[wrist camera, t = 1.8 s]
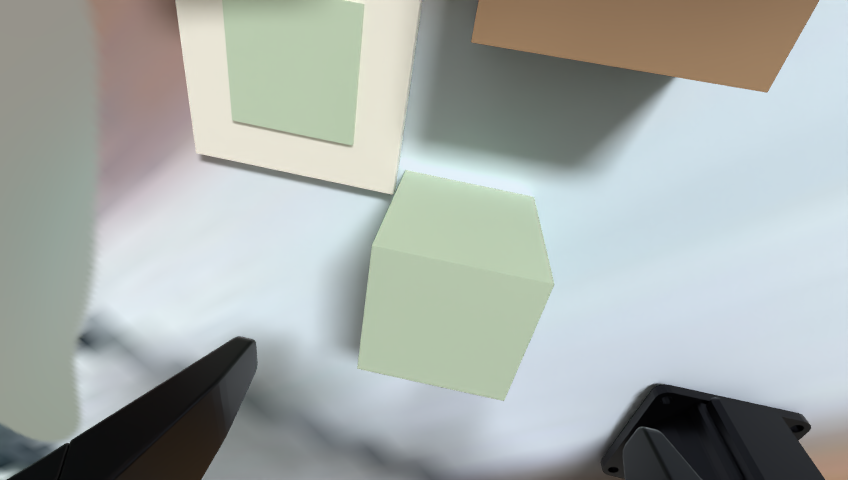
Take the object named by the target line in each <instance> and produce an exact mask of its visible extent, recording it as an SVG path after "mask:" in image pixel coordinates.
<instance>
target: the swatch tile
mask: <svg viewBox="0 0 848 480" xmlns="http://www.w3.org/2000/svg"><path fill="white" fill-rule="evenodd" d="M175 1H176V9H177V16H178V23H179V31H180V38H181V45H182V53H183V60H184V67H185V75H186V82H187V89H188V97H189V104H190V111H191V119H192V126H193V133H194V141H195V148H196V153H198V154H203V155H208V156H213V157H217V158H222V159H227V160H231V161H236V162H241V163H246V164H250V165H255V166H260V167H265V168H269V169H274V170H279V171H283V172H288V173H293V174H298V175H302V176H307V177H312V178H317V179H321V180H326V181H331V182H335V183H340V184H345V185H350V186H354V187H359V188H364V189H369V190H373V191H378V192H383V193H387V194H392V195H393V193H394V191H395V189H396V182H397V175H398V168H399V162H400V155H401V148H402V141H403V134H404V127H405V120H406V113H407V106H408V99H409V92H410V85H411V78H412V71H413V64H414V57H415V50H416V44H417V37H418V30H419V23H420V16H421V9H422V2H423V0H175Z"/></svg>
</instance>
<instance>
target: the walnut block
mask: <svg viewBox="0 0 848 480" xmlns="http://www.w3.org/2000/svg"><path fill="white" fill-rule="evenodd" d="M818 2H819V0H479V1H478V6H477V12H476V17H475V23H474V29H473V34H472V40H471V42H472V43H478V44H483V45H489V46H495V47H501V48H507V49H513V50H519V51H525V52H531V53H537V54H543V55H548V56H554V57H560V58H566V59H572V60H578V61H584V62H590V63H596V64H602V65H608V66H614V67H619V68H625V69H631V70H637V71H643V72H649V73H655V74H661V75H667V76H673V77H679V78H684V79H690V80H696V81H702V82H708V83H714V84H720V85H726V86H732V87H738V88H744V89H750V90H755V91H761V92H768V90H769V89H770V87H771V85H772V83H773V81H774V80H775V78H776V76H777V74H778V73H779V71H780V69H781V67H782V65H783V64H784V62H785V60H786V58H787V57H788V55H789V53H790V51H791V50H792V48H793V46H794V44H795V42H796V41H797V39H798V37H799V35H800V34H801V32H802V30H803V28H804V27H805V25H806V23H807V21H808V19H809V18H810V16H811V14H812V12H813V11H814V9H815V7H816V5H817V4H818Z"/></svg>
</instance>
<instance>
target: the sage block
mask: <svg viewBox="0 0 848 480" xmlns="http://www.w3.org/2000/svg"><path fill="white" fill-rule="evenodd" d="M553 286H554V281H553V277H552V272H551V268H550V264H549V259H548V255H547V251H546V247H545V242H544V238H543V234H542V230H541V225H540V221H539V217H538V212H537V208H536V204H535V200H534V197H531V196H527V195H522V194H517V193H512V192H508V191H503V190H498V189H493V188H488V187H484V186H479V185H474V184H469V183H465V182H460V181H455V180H450V179H446V178H441V177H436V176H431V175H427V174H422V173H417V172H412V171H408V170H406V171H405V173H404V175H403V177H402V180H401V182H400V184H399V186H398V188H397V191H396V193H395V195H394V197H393V200H392V202H391V204H390V206H389V209H388V211H387V213H386V215H385V217H384V220H383V222H382V224H381V226H380V229H379V231H378V233H377V235H376V237H375V240H374V242H373V244H372V249H371V258H370V266H369V274H368V283H367V291H366V299H365V308H364V316H363V325H362V333H361V341H360V350H359V358H358V366H357V369H361V370H366V371H370V372H375V373H379V374H384V375H388V376H393V377H397V378H402V379H407V380H411V381H416V382H420V383H425V384H429V385H434V386H438V387H443V388H447V389H452V390H456V391H461V392H465V393H470V394H474V395H479V396H484V397H488V398H493V399H497V400H502V401H504V400H505V397H506V395H507V393H508V390H509V388H510V386H511V384H512V381H513V379H514V377H515V374H516V372H517V370H518V367H519V365H520V363H521V360H522V358H523V356H524V353H525V351H526V349H527V347H528V344H529V342H530V340H531V337H532V335H533V333H534V330H535V328H536V326H537V323H538V321H539V319H540V316H541V314H542V312H543V310H544V307H545V305H546V303H547V300H548V298H549V296H550V293H551V291H552V289H553Z"/></svg>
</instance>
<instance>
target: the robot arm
mask: <svg viewBox="0 0 848 480" xmlns="http://www.w3.org/2000/svg"><path fill="white" fill-rule="evenodd" d="M256 369H257V349H256V342H255V340H253V339H250V338H246V337H241V336H238V337H235V338H233V339H232V340H230V341H228V342H227V343H225V344H224V345H222V346H220V347H219V348H217V349H216V350H214V351H212V352H211V353H209V354H208V355H206V356H205V357H203V358H201V359H200V360H198V361H197V362H195V363H193V364H192V365H190V366H189V367H187V368H185V369H184V370H182V371H181V372H179V373H177V374H176V375H174V376H173V377H171V378H169V379H168V380H166V381H165V382H163V383H161V384H160V385H158V386H157V387H155V388H154V389H152V390H150V391H149V392H147V393H146V394H144V395H142V396H141V397H139V398H138V399H136V400H134V401H133V402H131V403H130V404H128V405H126V406H125V407H123V408H122V409H120V410H118V411H117V412H115V413H114V414H112V415H111V416H109V417H107V418H106V419H104V420H103V421H101V422H99V423H98V424H96V425H95V426H93V427H91V428H90V429H88V430H87V431H85V432H83V433H82V434H80V435H79V436H77V437H75V438H74V439H72V440H71V442H70V444H69V443H66V444H64V445H62V446H61V447H59V448H58V449H56V450H54V451H53V452H51V453H50V454H48V455H47V456H45V457H43V458H42V459H40V460H38V461H37V462H35V463H33V464H32V465H30V466H28V467H27V468H25V469H23V470H22V471H20V472H18V473H17V474H15V475H14V476H12V477H10V478H9V479H7V480H201V479H202V477H203V476H204V474H205V472H206V470H207V469H208V467H209V465H210V464H211V462H212V460H213V458H214V457H215V455H216V453H217V452H218V450H219V448H220V446H221V445H222V443H223V441H224V439H225V437H226V436H227V434H228V432H229V429H230V427H231V425H232V423H233V421H234V419H235V416H236V414H237V412H238V410H239V408H240V405H241V403H242V401H243V399H244V397H245V394H246V392H247V390H248V388H249V386H250V383H251V381H252V379H253V377H254V375H255V372H256ZM810 429H811V425H810V424H809V423H808V421H807V420H806V419H805V417H804V416H803V415H802V414H799V413H795V412H790V411H786V410H781V409H777V408H772V407H768V406H763V405H758V404H754V403H749V402H745V401H740V400H736V399H731V398H726V397H722V396H717V395H713V394H708V393H704V392H699V391H694V390H690V389H685V388H681V387H676V386H672V385H659V386H657V387H655V388H654V389H652V391H651V392H650V393H649V395H648V396H647V397H646V399H645V400H644V402H643V403H642V404H641V406H640V407H639V409H638V410H637V411H636V413H635V414H634V415H633V417H632V418H631V420H630V421H629V422H628V424H627V425H626V427H625V428H624V429H623V431H622V432H621V433H620V435H619V436H618V438H617V439H616V440H615V442H614V443H613V444H612V446H611V447H610V449H609V450H608V451H607V453H606V454H605V456H604V457H603V458H602V460H601V465H602V469H603V472H604V473H605V474H607V475H611V476H615V477H619V478H624V479H625V480H825V479H824V477H823V476H822V474H821V473H820V471H819V470H818V469H817V467H816V466H815V464H814V463H813V461H812V460H811V458H810V457H809V456H808V454H807V453H806V451H805V450H804V448H803V447H802V446H801V444H800V443H799V441H798V440H799V439H801V438H802V437H803V436H804V435H805V434H806V433H807V432H809V430H810Z"/></svg>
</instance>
